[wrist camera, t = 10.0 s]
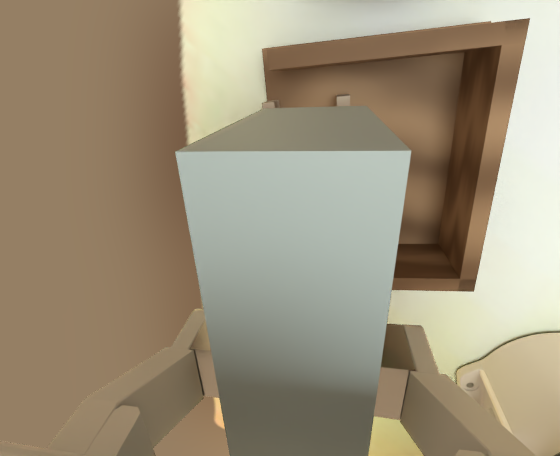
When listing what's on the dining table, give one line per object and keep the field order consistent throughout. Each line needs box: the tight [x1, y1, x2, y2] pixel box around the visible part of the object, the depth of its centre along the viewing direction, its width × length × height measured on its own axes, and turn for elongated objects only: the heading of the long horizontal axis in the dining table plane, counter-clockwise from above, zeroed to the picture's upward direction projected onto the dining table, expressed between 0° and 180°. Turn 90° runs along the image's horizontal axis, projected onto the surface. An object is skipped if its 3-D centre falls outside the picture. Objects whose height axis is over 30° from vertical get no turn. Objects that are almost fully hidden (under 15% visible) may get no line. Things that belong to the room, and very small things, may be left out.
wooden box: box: [262, 18, 530, 291], centre depth 27 cm, size 20×17×8 cm
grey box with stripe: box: [175, 106, 411, 456], centre depth 10 cm, size 12×4×7 cm, turn 2°
